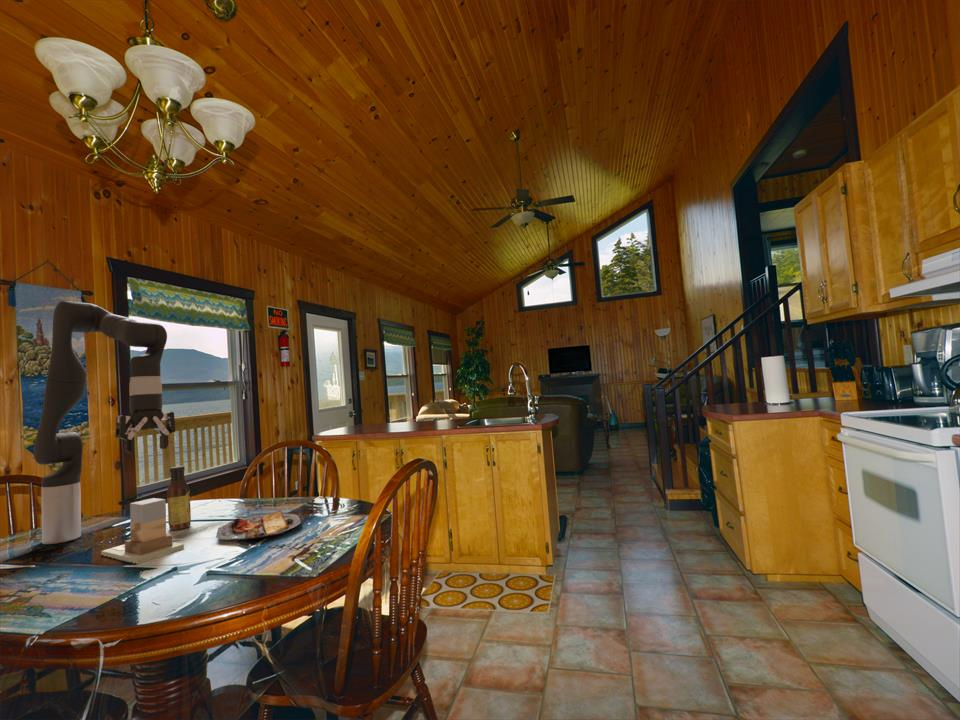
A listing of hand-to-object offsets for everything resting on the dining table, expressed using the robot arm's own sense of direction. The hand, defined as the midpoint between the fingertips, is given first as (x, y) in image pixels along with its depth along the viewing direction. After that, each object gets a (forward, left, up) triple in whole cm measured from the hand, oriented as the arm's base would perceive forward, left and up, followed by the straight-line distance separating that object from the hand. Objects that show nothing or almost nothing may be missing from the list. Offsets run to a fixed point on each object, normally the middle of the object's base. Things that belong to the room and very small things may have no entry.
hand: (147, 451), depth 132 cm
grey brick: (0, 0, -19) cm, 19 cm away
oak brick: (0, 0, -24) cm, 24 cm away
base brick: (0, 0, -27) cm, 27 cm away
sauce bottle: (-17, +18, -28) cm, 38 cm away
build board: (-3, 0, -28) cm, 28 cm away
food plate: (+13, +25, -29) cm, 40 cm away
